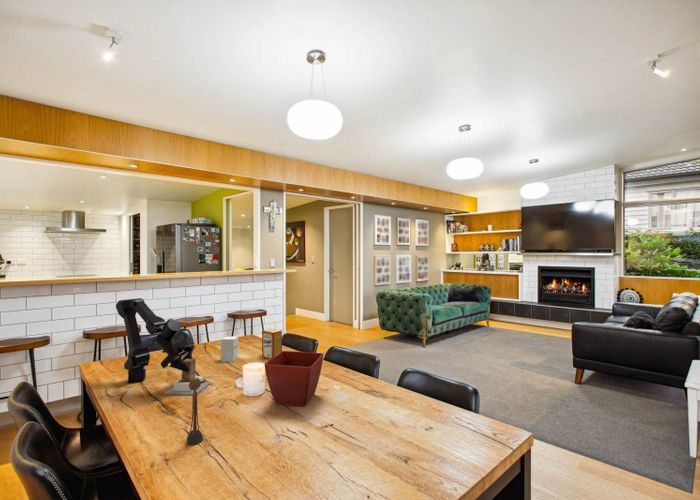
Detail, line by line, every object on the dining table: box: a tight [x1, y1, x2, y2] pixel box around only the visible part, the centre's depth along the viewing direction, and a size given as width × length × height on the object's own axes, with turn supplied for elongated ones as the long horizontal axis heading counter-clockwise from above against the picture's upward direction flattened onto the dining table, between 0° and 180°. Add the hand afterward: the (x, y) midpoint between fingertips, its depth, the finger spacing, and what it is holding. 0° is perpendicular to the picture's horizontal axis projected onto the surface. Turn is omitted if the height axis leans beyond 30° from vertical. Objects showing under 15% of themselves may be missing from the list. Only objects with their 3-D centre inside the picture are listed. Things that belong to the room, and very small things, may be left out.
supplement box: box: [220, 336, 239, 363], centre depth 196 cm, size 7×7×13 cm
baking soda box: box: [261, 328, 283, 361], centre depth 200 cm, size 10×6×16 cm
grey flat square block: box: [163, 375, 212, 396], centre depth 154 cm, size 14×14×4 cm
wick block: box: [181, 358, 197, 382], centre depth 154 cm, size 4×4×12 cm
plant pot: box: [264, 350, 324, 407], centre depth 142 cm, size 19×19×17 cm
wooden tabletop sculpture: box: [185, 378, 207, 446], centre depth 111 cm, size 6×5×20 cm
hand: (191, 369), depth 154 cm, fingers open, 5 cm apart
